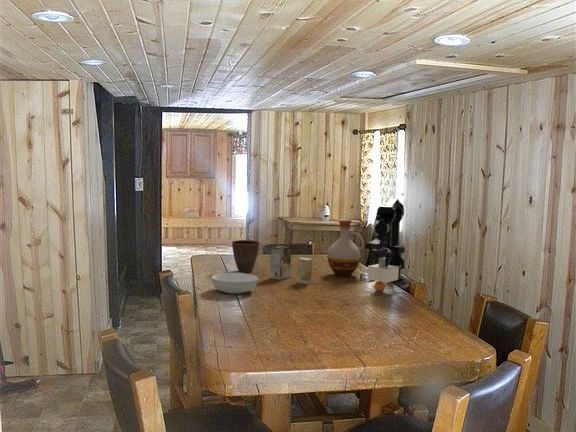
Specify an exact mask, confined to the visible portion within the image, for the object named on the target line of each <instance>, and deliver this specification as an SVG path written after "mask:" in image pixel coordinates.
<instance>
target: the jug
mask: <svg viewBox="0 0 576 432" xmlns="http://www.w3.org/2000/svg"><path fill="white" fill-rule="evenodd" d="M338 223H339V224H338V228H339V231H340V232H339V235H340V236H339V238H338V239H337V240H336V241H335V242H334V243H333V244H331V246H330V247H329V248H328V250H327V252H326V257H327V262H328V265H329V268H330V269H331V271H332V272H333V274H334V275H335V276H337V277H341V278H343V277H351V276H352V275H353V274H354V272H355V271H356V270H357V269H358V267H359V264H360V261H361V256H362V255H361V251H363V250H364V249H365V240H364V238H363V236H362V235H361V234H359V233H358V232H356V231H350V230H351V228H352V225H351V223H352V219H339V220H338ZM353 235H355V236H356V237H358V239H360V242H361V246H360V247H358V246H357V245H356V244H355V243H354V242H353V241H352V240H351V236H353Z"/></svg>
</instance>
